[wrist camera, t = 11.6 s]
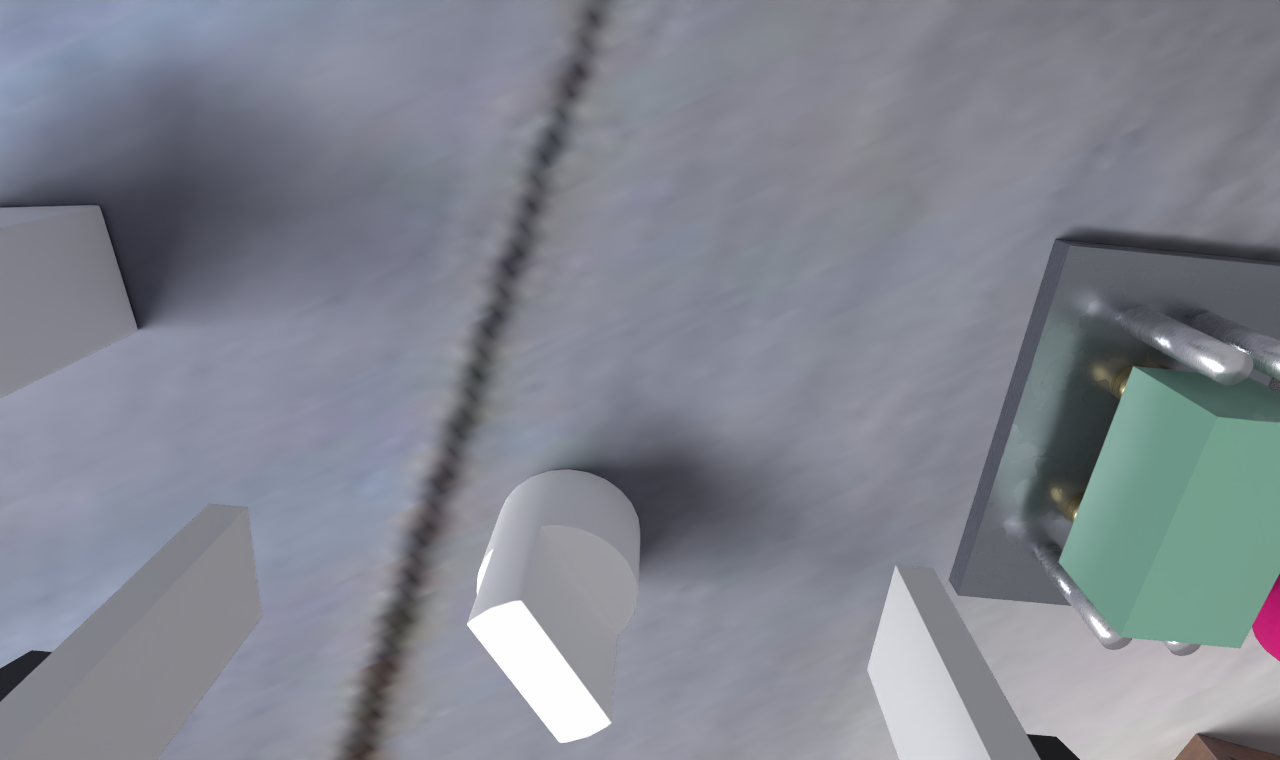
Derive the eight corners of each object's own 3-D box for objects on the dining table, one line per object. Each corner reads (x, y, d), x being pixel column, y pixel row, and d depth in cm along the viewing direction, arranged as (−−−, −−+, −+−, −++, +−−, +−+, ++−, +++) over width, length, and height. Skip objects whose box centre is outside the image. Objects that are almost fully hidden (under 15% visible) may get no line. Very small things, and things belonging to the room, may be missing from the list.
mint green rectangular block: (1133, 366, 37) (1217, 417, 31) (1250, 377, 37) (1354, 430, 31) (1058, 562, 41) (1120, 637, 36) (1162, 571, 42) (1240, 648, 36)
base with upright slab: (470, 506, 46) (410, 643, 35) (595, 446, 44) (574, 570, 33) (545, 609, 49) (512, 765, 37) (665, 556, 47) (667, 705, 36)
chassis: (1055, 239, 38) (1157, 280, 31) (1297, 263, 39) (1460, 310, 31) (948, 580, 47) (1007, 681, 39) (1148, 598, 47) (1247, 702, 39)
